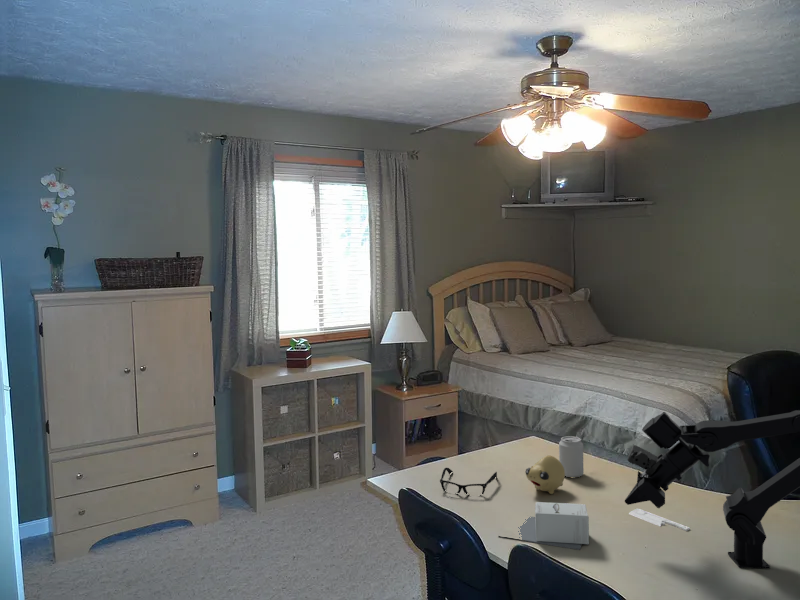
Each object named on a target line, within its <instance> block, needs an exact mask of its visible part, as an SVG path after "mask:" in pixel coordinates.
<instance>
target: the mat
mask: <svg viewBox="0 0 800 600" xmlns="http://www.w3.org/2000/svg"><path fill="white" fill-rule="evenodd" d="M530 517H531V518H530ZM530 517H529V518H528V519H527V520H526V519H525V520H526V521H527V522H526V521H525V522H526V523H525V522H524V523H525V524H524V523H523V525H522V526H520V528H521V529H520V528H519V527H518V528H519V529H520V532H521V533H519V535H520V534H521V535H522V536H521V537H522V540H525V541H524V542H527V541H528V543H533V544H541V545H546V546H554V547H559V548H560V547H561V548H565V549H573V550H579V551H580V550H581V548H582V545H583V544H574V543H559V542H543V541H537V540H536V521H535V516H530ZM518 532H519V531H518ZM519 538H520V537H519Z"/></svg>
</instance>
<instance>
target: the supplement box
mask: <svg viewBox="0 0 800 600" xmlns="http://www.w3.org/2000/svg"><path fill="white" fill-rule="evenodd" d="M534 509H535V513H534V515H535V516H534V517H535V521H536V540H537V541H543V542H559V543H574V544H582V545H589V543H590V537H589V536H590V526H589V525H590V521H589V520H590V519H589V514H588V510H587V505H586V504H585V503H583V504H582V503H567V502H566V503H565V502H542V501H535V508H534Z"/></svg>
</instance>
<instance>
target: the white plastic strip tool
mask: <svg viewBox="0 0 800 600" xmlns="http://www.w3.org/2000/svg"><path fill="white" fill-rule="evenodd" d="M628 515H630V516H633V517H635V518H638V519H640V520H642V521H645V522H647V523H650V524H652V525H656V526H658V527H661V526H666V524H667V525H670V526H673V527H676V528H679V529H680V530H683V531H685V532H688V531H689V530H690V528H691V527H689V526H686V525H683V524H681V523H678V522H676V521H672V520H671V519H668V518H665V517H662V516H660V515H657V514H655V513H651V512H649V511H646V510H644V509H642V508H641V509H640V508H635V509H633V510H631V511H629V513H628Z"/></svg>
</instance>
